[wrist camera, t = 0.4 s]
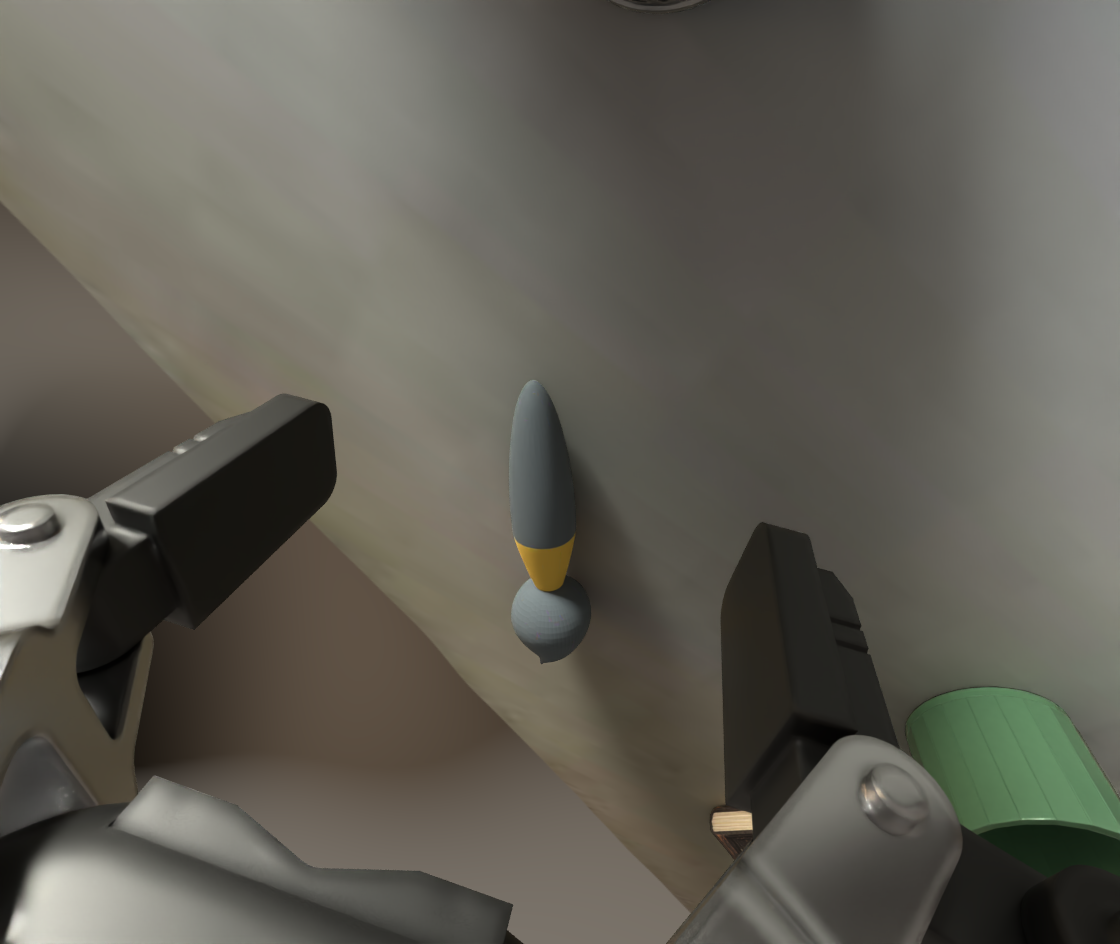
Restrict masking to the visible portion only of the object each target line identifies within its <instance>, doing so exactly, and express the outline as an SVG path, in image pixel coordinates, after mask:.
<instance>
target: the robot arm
mask: <svg viewBox="0 0 1120 944" xmlns="http://www.w3.org/2000/svg"><path fill="white" fill-rule="evenodd" d="M607 1H609V2H611V3H613V4H615V5H617V6H619V7H622V8H625V9H627V10H631V11H635V12H640V13H648V14H668V13H674V12H680V11H684V10H687V9H691V8H694V7H697V6H699V5H702V4H704V3H707V2H709V1H710V0H607ZM336 478H337V469H336V459H335V449H334V439H333V429H332V419H331V413H330V410H329V408H328V407H327V406H326V405H325V404H323V403H319V402H316V401H312V400H308V399H304V398H301V397H297V396H293V395H289V394H280V395H278V396H276V397H274V398H272V399H271V400H269V401H267V402H266V403H264V404H263V405H261V406H259V407H258V408H256V409H254V410H253V411H251V412H247V413H244V414H241V415H238V416H235V417H231V418H228V419H225V420H222V421H219V422H217V423H215V424H214V425H212V426H210V427H209V428H207V429H205V430H204V431H202V432H200V433H198V434H197V435H195V436H194V439H193V440H191V439H188V440H187V441H185V442H183V443H181V444H180V445H178V446H177V447H175V448H174V450H173V452H169V451H168V452H166V453H165V454H163V455H161V456H159V457H158V458H156V459H154V460H153V461H151V462H149V463H148V464H146V465H144V466H142V467H141V468H139V469H137V470H136V471H134V472H132V473H131V474H129V475H127V476H126V477H124V478H122V479H120V480H119V481H117V482H115V483H114V484H112V485H110V486H108V487H107V488H105V489H103V490H102V491H100V492H99V493H97V494H95V495H93V496H92V497H90V498H88V499H84V498H81V497H78V496H72V495H58V494H55V495H42V496H35V497H30V498H25V499H21V500H17V501H14V502H10V503H7V504H4V505H1V506H0V944H523V943H522V942H521V941H520V940H518V939H517V938H516V937H515V936H514V935H512V934H511V933H510V932H509V931H507V927H508V923H509V919H510V915H511V911H512V907H513V904H510V903H507V902H505V901H502V900H499V899H496V898H493V897H491V896H488V895H485V894H482V893H479V892H477V891H474V890H471V889H468V888H466V887H463V886H460V885H457V884H455V883H452V882H449V881H446V880H443V879H440V878H438V877H435V876H432V875H430V874H427V873H424V872H421V871H402V870H401V871H400V870H366V869H328V868H316V867H312V866H310V865H307V864H306V863H304V862H303V861H302V860H300V859H299V858H298V857H297V856H296V855H294V854H293V853H292V852H291V851H290V850H289V849H287V848H286V847H285V846H284V845H283V844H282V843H281V842H279V841H278V840H277V839H276V838H275V837H274V836H272V835H271V834H270V833H269V832H268V831H267V830H265V829H264V828H263V827H262V826H261V825H260V824H258V823H257V822H256V821H255V820H254V819H253V818H251V817H250V816H249V815H248V814H247V813H246V812H244V811H243V810H242V809H241V808H240V807H238V806H237V805H235V804H232V803H229V802H227V801H224V800H221V799H218V798H215V797H212V796H210V795H207V794H204V793H202V792H198V791H196V790H193V789H190V788H188V787H185V786H182V785H179V784H177V783H173V782H171V781H168V780H165V779H163V778H160V777H157V776H153V777H152V778H151V779H150V781H149V782H148V783H147V784H146V785H145V787H144V788H143V789H142V790H141V791H140V792H139V793H138V788H137V782H136V776H135V771H134V749H135V743H136V738H137V732H138V726H139V721H140V715H141V710H142V705H143V700H144V695H145V689H146V684H147V678H148V673H149V667H150V662H151V657H152V652H153V643H154V641H153V637H152V634H151V632H150V631H152V630H153V629H154V628H155V627H156V626H157V625H158V624H159V623H161V622H162V621H163V620H166V621H169V622H172V623H175V624H178V625H181V626H184V627H187V628H190V629H193V630H195V629H196V628H197V627H198V626H199V625H200V624H201V623H202V622H203V621H204V620H205V619H206V618H207V617H208V616H209V615H210V614H211V613H212V612H213V611H214V610H215V609H216V608H217V607H218V606H219V605H220V604H222V602H224V601H225V600H226V599H227V598H228V597H229V596H230V595H231V594H232V593H233V592H234V591H235V590H236V589H237V588H238V587H239V586H240V585H241V584H242V583H243V582H244V581H245V580H246V579H247V578H248V577H249V576H250V575H252V574H253V572H255V571H256V570H257V569H258V568H259V567H260V566H261V565H262V564H263V563H264V562H265V561H266V560H267V559H268V558H269V557H270V556H271V555H272V554H273V553H274V552H275V551H276V550H277V549H278V548H279V547H280V546H281V545H282V544H283V543H285V542H286V541H287V540H288V539H289V538H290V537H291V536H292V535H293V534H294V533H295V532H296V531H297V530H298V529H299V528H300V527H301V526H302V525H303V524H304V523H305V522H306V521H307V520H308V519H309V518H311V517H312V516H313V515H314V514H315V513H316V512H317V511H318V510H319V509H320V508H321V507H322V506H323V505H324V504H325V503H326V502H327V500H328V499H329V497H330V496H331V494H332V492H333V489H334V487H335V483H336ZM860 627H861V623H860V620H859V617H858V614H857V610H856V607H855V604H854V601H853V598H852V597H851V595H850V594H849V593H848V592H847V590H846V589H845V588H844V586H843V585H842V584H841V582H840V581H839V580H838V578H837V577H836V576H835V574H834V573H833V572H831V571H827V570H824V569H820V568H817V565H816V561H815V557H814V553H813V549H812V545H811V541H810V538H809V536H808V535H807V534H805V533H801V532H797V531H794V530H790V529H786V528H782V527H779V526H775V525H771V524H767V523H764V522H761V523H759V524H758V525H757V527H756V528H755V530H754V532H753V534H752V536H751V538H750V540H749V542H748V544H747V546H746V548H745V550H744V552H743V554H742V556H741V558H740V560H739V563H738V565H737V567H736V569H735V571H734V573H733V575H732V577H731V579H730V581H729V583H728V585H727V588H726V591H725V594H724V598H723V603H722V608H721V651H722V689H723V726H724V764H725V801H726V805H727V806H730V807H733V808H736V809H739V810H742V811H745V812H749V813H752V829H753V838H752V840H751V841H750V842H749V843H748V844H747V845H746V847H745V848H744V849H743V850H742V852H741V853H740V854H739V855H738V856H737V858H736V859H735V860H734V861H733V863H732V864H731V865H730V866H729V867H728V869H727V870H726V871H725V872H724V874H723V875H722V876H721V877H720V878H719V880H718V881H717V882H716V883H715V885H714V886H713V887H712V888H711V889H710V891H709V892H708V893H707V894H706V896H705V897H704V898H703V899H702V900H701V902H700V903H699V904H698V905H697V907H696V908H695V909H694V910H693V911H692V913H691V914H690V915H689V916H688V918H687V919H686V920H685V921H684V922H683V924H682V925H681V926H680V927H679V929H678V930H677V931H676V932H675V933H674V935H673V936H672V937H671V938H670V940H669V941H668V942H667V943H666V944H1120V877H1119V876H1117V875H1115V874H1112V873H1110V872H1108V871H1106V870H1103V869H1100V868H1097V867H1093V866H1089V865H1072V866H1069V867H1067V868H1065V869H1063V870H1061V871H1059V872H1058V873H1056V874H1054V875H1052V876H1050V877H1049V878H1048V877H1046V876H1044V875H1043V874H1041V873H1039V872H1038V871H1036V870H1034V869H1033V868H1031V867H1029V866H1028V865H1026V864H1025V863H1023V862H1021V861H1020V860H1018V859H1016V858H1015V857H1013V856H1011V855H1010V854H1008V853H1006V852H1005V851H1003V850H1001V849H1000V848H998V847H996V846H995V845H993V844H992V843H990V842H988V841H987V840H985V839H983V838H982V837H980V836H978V835H977V834H975V833H974V832H972V831H971V830H969V829H968V828H966V827H965V826H963V825H962V824H960V823H959V820H958V817H957V814H956V812H955V810H954V808H953V806H952V804H951V802H950V801H949V799H948V797H947V796H946V794H945V793H944V791H943V790H942V788H941V787H940V786H939V785H938V783H937V782H936V781H935V779H934V778H933V777H932V776H931V775H930V774H929V773H928V772H927V771H926V770H925V769H924V768H923V767H922V766H921V765H920V764H919V763H918V762H916V761H915V760H914V759H913V758H911V757H910V756H909V755H907V754H906V753H905V752H903V751H902V750H900V748H899V745H898V742H897V739H896V735H895V732H894V729H893V726H892V723H891V719H890V716H889V713H888V710H887V707H886V703H885V700H884V697H883V694H882V691H881V687H880V684H879V681H878V678H877V674H876V671H875V668H874V665H873V662H872V658H871V655H870V654H867V651H868V646H867V642H866V639H865V636H864V633H863V631H861V630H860Z"/></svg>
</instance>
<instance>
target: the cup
mask: <svg viewBox="0 0 1120 944" xmlns="http://www.w3.org/2000/svg"><path fill="white" fill-rule="evenodd" d="M905 735H906V739H907V742H908V745H909V748H910V752H911V755H912V758H913V759H914V760H915V761H916V762H918V763H919V764H920V765H921V766H922V767H923V768H924V769H925V770H926V771H927V772H928V773H929V774H930V775H931V776H932V777H933V778H934V779H935V781H936V782H937V783H938V785H939V786H940V787H941V788H942V790H943V791H944V793H945V794H946V796H947V797H948V799H949V801H950V802H951V804H952V806H953V808H954V810H955V812H956V814H957V817H958V820H959V823H960V824H962V825H963V826H965V827H966V828H968V829H969V830H971V831H972V832H974V833H975V834H977V835H978V836H980V837H982V838H983V839H985V840H987V841H988V842H990V843H992V844H993V845H995V846H996V847H998V848H1000V849H1001V850H1003V851H1005V852H1006V853H1008V854H1010V855H1011V856H1013V857H1015V858H1016V859H1018V860H1020V861H1021V862H1023V863H1025V864H1026V865H1028V866H1029V867H1031V868H1033V869H1034V870H1036V871H1038V872H1039V873H1041V874H1043V875H1044V876H1046V877H1048V878H1049V877H1050V876H1052V875H1054V874H1056V873H1058V872H1059V871H1061V870H1063V869H1065V868H1067V867H1069V866H1072V865H1089V866H1093V867H1097V868H1100V869H1103V870H1106V871H1108V872H1110V873H1112V874H1115V875H1117V876H1119V877H1120V797H1119V796H1118V794H1117V792H1116V791H1115V789H1114V788H1113V786H1112V784H1111V783H1110V781H1109V779H1108V778H1107V776H1106V775H1105V773H1104V771H1103V770H1102V768H1101V766H1100V765H1099V763H1098V762H1097V760H1096V758H1095V757H1094V755H1093V753H1092V752H1091V750H1090V748H1089V747H1088V745H1087V744H1086V742H1085V740H1084V739H1083V737H1082V735H1081V734H1080V732H1079V731H1078V729H1077V728H1076V727H1075V725H1074V724H1073V722H1072V721H1071V719H1070V717H1069V716H1068V715H1067V713H1066V712H1065V711H1064V710H1063V709H1062V708H1060V707H1059V706H1058V705H1057V704H1055V703H1053V702H1052V701H1050V700H1048V699H1046V698H1044V697H1041V696H1039V695H1036V694H1033V693H1030V692H1026V691H1021V690H1016V689H1010V688H999V687H980V688H969V689H962V690H957V691H952V692H949V693H945V694H942V695H939V696H937V697H934V698H932V699H930V700H928V701H926V702H925V703H923V704H922V705H920V706H919V707H918V708H916V709H915V710H914V711H913V712H912V714H911V715H910V716H909V718H908V720H907V722H906V726H905Z"/></svg>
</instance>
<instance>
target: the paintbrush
mask: <svg viewBox="0 0 1120 944" xmlns="http://www.w3.org/2000/svg"><path fill="white" fill-rule="evenodd" d="M509 499H510V512H511V522H512V530H513V535H514V539H515V542H516V544H517V547H518V549H519V552H520V555H521V557H522V559H523V561H524V564H525V566H526V568H527V570H528V573H529V575H530V577H531V578H530V579H529V580H527V581H526V582H525V583H524V584H523V585H522V587H521V588H520V589H519V591H518V593H517V594H516V596H515V599H514V602H513V605H512V611H511V619H512V624H513V628H514V630H515V632H516V634H517V636H518V637H519V639H520V640H521V641H522V642H523V644H524V645H525V646H527V647H528V648H529V649H530V650H531V651H533V652H534V653H535V654H537V655H538V656H539V657H540V663H541V664H543V663H548V662H554V661H558V660H560V659H563V658H564V657H566V656H568V655H569V654H570V653H571V652H572V651H573V650H574V649H575V648H576V647H577V646H578V645H579V644H580V642H581V641H582V640H583V638H584V636H585V634H586V632H587V630H588V627H589V624H590V619H591V606H590V602H589V598H588V596H587V594H586V592H585V590H584V589H583V587H582V586H581V585H580V584H579V583H578V582H577V581H576V580H574V579H573V578H571V577H569V576H567V575H566V572H567V569H568V565H569V561H570V557H571V553H572V549H573V544H574V539H575V533H576V510H575V497H574V488H573V480H572V473H571V468H570V462H569V457H568V452H567V447H566V443H565V439H564V435H563V431H562V427H561V424H560V421H559V418H558V415H557V412H556V410H555V407H554V405H553V402H552V400H551V398H550V396H549V395H548V393H547V391H546V390H545V388H544V387H543V386H542V385H541V384H540V383H539V382H537V381H535V380H531V381H529V382H528V383H527V384H526V385H525V386H524V388H523V389H522V391H521V393H520V396H519V399H518V401H517V405H516V408H515V413H514V418H513V424H512V432H511V442H510V457H509Z"/></svg>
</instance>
